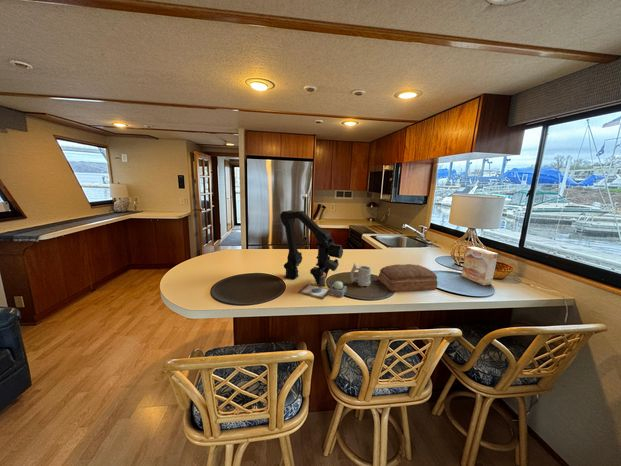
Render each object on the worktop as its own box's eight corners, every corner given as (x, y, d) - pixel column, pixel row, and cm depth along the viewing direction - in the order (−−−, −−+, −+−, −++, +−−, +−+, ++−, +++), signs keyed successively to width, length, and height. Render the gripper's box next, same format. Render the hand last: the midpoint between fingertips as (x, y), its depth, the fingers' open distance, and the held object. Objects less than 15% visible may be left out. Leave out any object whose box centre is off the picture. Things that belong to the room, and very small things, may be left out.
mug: (371, 287, 134) (373, 267, 131) (349, 286, 134) (351, 265, 132) (368, 281, 141) (370, 262, 139) (348, 280, 142) (350, 261, 139)
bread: (376, 279, 145) (378, 261, 143) (420, 277, 151) (423, 260, 148) (390, 292, 129) (393, 272, 127) (439, 290, 135) (442, 270, 132)
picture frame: (297, 292, 124) (297, 291, 124) (307, 284, 134) (307, 283, 134) (322, 299, 118) (322, 297, 118) (331, 290, 128) (331, 289, 128)
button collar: (329, 293, 124) (329, 288, 124) (333, 288, 130) (334, 283, 130) (342, 297, 121) (342, 291, 121) (346, 291, 127) (346, 286, 127)
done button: (332, 290, 125) (333, 283, 124) (335, 287, 128) (336, 280, 128) (340, 292, 123) (341, 285, 122) (343, 289, 127) (343, 282, 126)
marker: (316, 285, 133) (317, 273, 132) (319, 283, 137) (320, 271, 135) (323, 287, 132) (324, 275, 130) (326, 284, 135) (327, 273, 133)
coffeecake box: (460, 275, 156) (466, 246, 152) (469, 274, 158) (474, 246, 154) (483, 285, 142) (490, 253, 138) (492, 284, 145) (498, 253, 140)
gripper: (330, 262, 119) (328, 291, 122) (343, 252, 135) (341, 278, 138) (310, 258, 123) (309, 286, 127) (324, 249, 140) (323, 274, 143)
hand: (321, 281), depth 134 cm, fingers open, 9 cm apart
